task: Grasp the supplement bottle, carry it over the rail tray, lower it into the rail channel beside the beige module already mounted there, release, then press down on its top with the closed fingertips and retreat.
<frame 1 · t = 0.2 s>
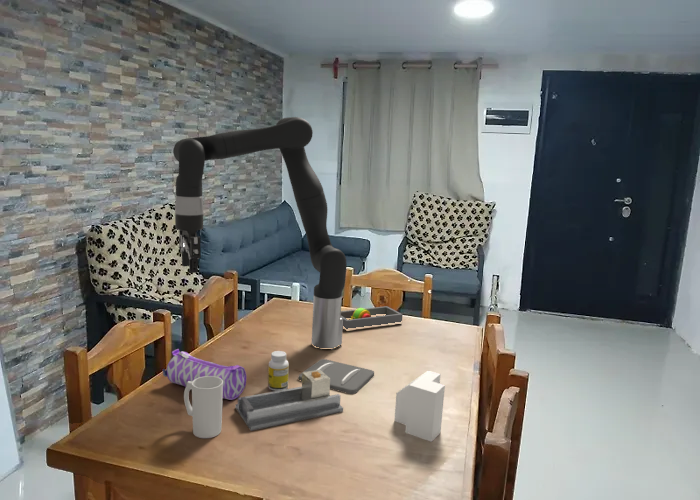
hand: (189, 269, 154), 29 cm above the table, fingers open, 8 cm apart
pencil case: (206, 390, 145), on the table
mug: (201, 430, 125), on the table
grey flat block: (336, 379, 157), on the table
white notched block: (418, 425, 132), on the table
gray rectangular tray: (367, 323, 206), on the table
rail tray: (289, 409, 136), on the table
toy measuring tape: (367, 324, 206), resting in gray rectangular tray
supplement bottle: (278, 388, 148), on the table
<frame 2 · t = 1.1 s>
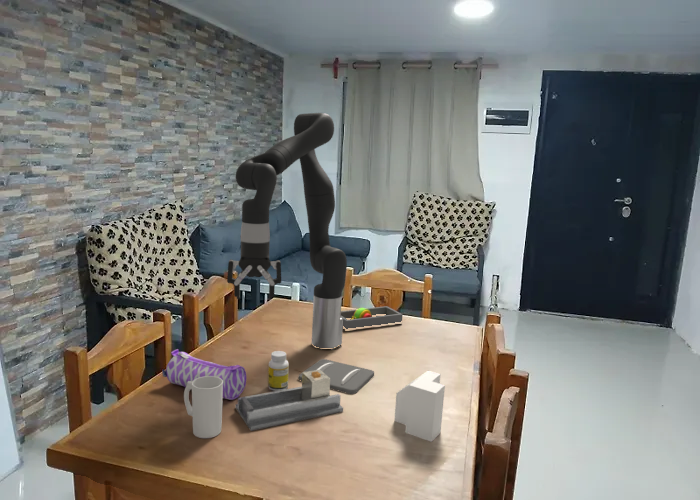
hand: (254, 298, 147), 24 cm above the table, fingers open, 8 cm apart
nothing on the table moved.
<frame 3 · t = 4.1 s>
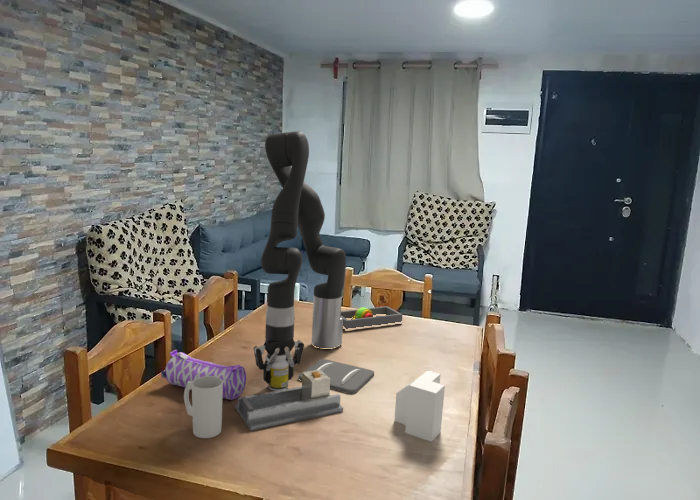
hand: (278, 380, 148), 2 cm above the table, fingers closed on supplement bottle, 5 cm apart
supplement bottle: (278, 388, 148), on the table, touching gripper
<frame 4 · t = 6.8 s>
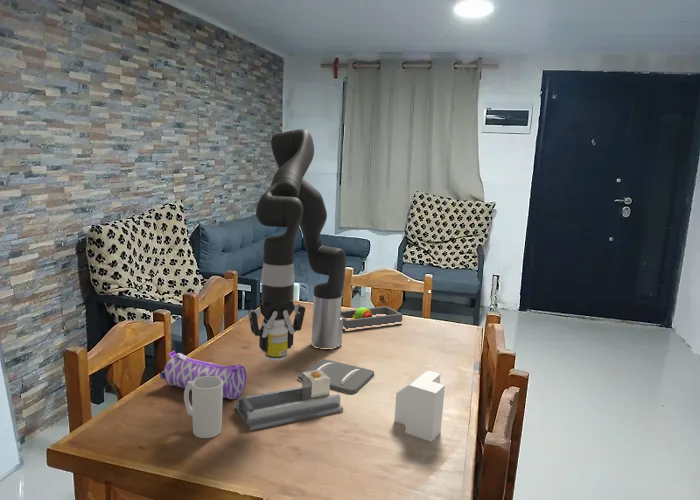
hand: (276, 348, 131), 17 cm above the table, fingers closed on supplement bottle, 5 cm apart
supplement bottle: (275, 357, 131), point 14 cm above the table, touching gripper
when the fingers open (4 cm above the table, at t = 9.4 s): supplement bottle drops 1 cm, resting on rail tray.
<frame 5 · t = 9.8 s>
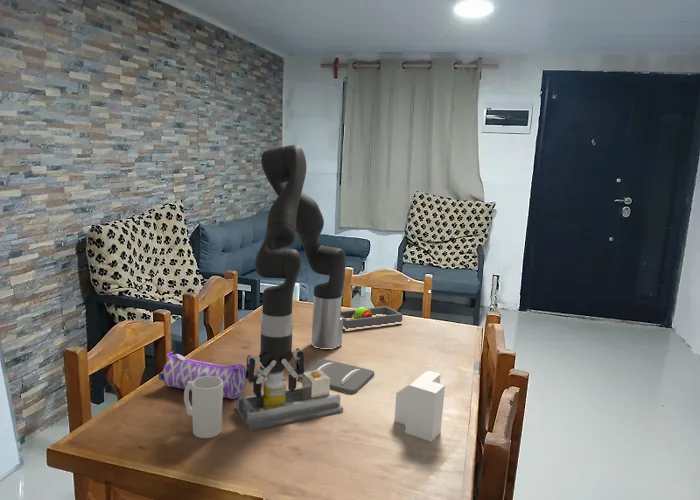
hand: (274, 393, 133), 5 cm above the table, fingers open, 8 cm apart
supplement bottle: (274, 409, 134), point 1 cm above the table, touching rail tray
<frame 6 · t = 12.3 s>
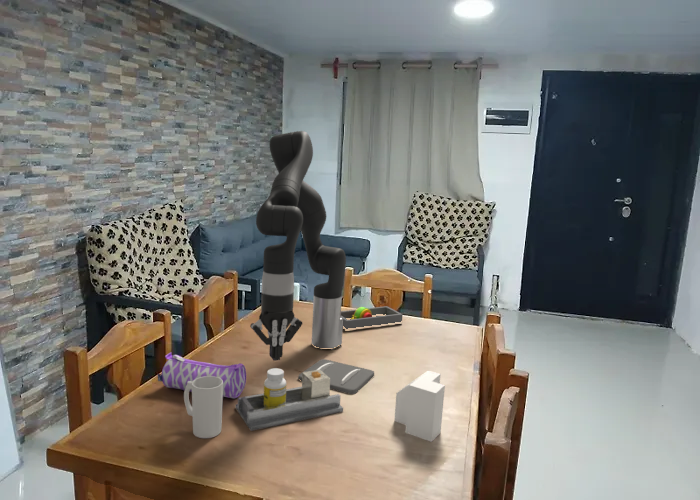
hand: (275, 359, 131), 14 cm above the table, fingers closed
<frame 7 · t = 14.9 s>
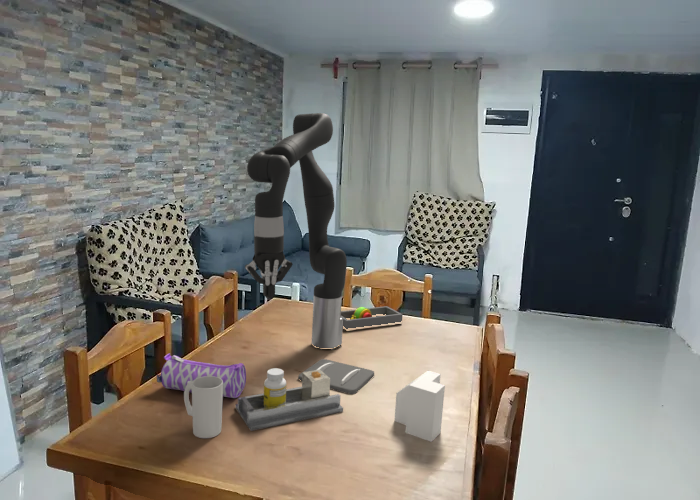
hand: (269, 297, 143), 25 cm above the table, fingers closed
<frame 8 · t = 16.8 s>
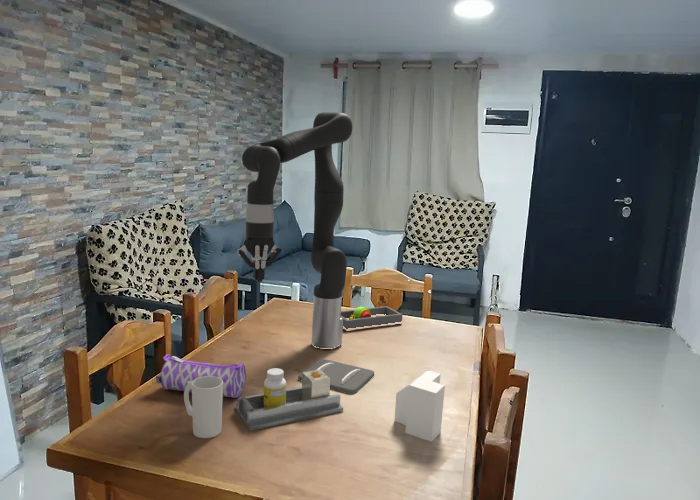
hand: (258, 281, 152), 27 cm above the table, fingers closed
at the end: supplement bottle 0.6 cm from the target spot on the rail tray, point 0.8 cm above the rail tray's base; supplement bottle tilted 0°; the gripper is holding nothing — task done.
